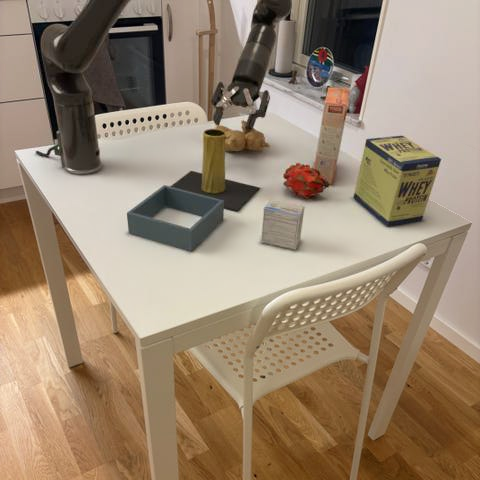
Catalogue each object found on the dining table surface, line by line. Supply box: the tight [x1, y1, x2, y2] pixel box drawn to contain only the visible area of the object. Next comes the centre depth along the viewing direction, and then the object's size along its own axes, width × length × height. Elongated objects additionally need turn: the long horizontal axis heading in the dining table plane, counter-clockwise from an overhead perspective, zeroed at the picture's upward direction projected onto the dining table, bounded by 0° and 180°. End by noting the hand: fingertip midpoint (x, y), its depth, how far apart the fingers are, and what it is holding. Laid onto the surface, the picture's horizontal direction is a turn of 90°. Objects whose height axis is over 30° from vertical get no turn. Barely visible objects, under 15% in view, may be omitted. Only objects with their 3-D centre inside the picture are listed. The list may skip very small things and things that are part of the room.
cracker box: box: [313, 86, 351, 186], centre depth 135 cm, size 14×6×21 cm, turn 168°
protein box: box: [353, 135, 442, 227], centre depth 123 cm, size 10×16×16 cm
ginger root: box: [214, 120, 271, 153], centre depth 151 cm, size 16×16×8 cm
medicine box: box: [260, 199, 305, 251], centre depth 110 cm, size 8×4×9 cm, turn 71°
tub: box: [126, 184, 225, 252], centre depth 114 cm, size 16×16×5 cm
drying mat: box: [169, 170, 260, 213], centre depth 130 cm, size 20×14×1 cm
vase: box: [201, 128, 226, 194], centre depth 126 cm, size 6×6×14 cm
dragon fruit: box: [283, 162, 330, 200], centre depth 129 cm, size 8×8×12 cm
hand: (231, 127), depth 129 cm, fingers open, 8 cm apart
